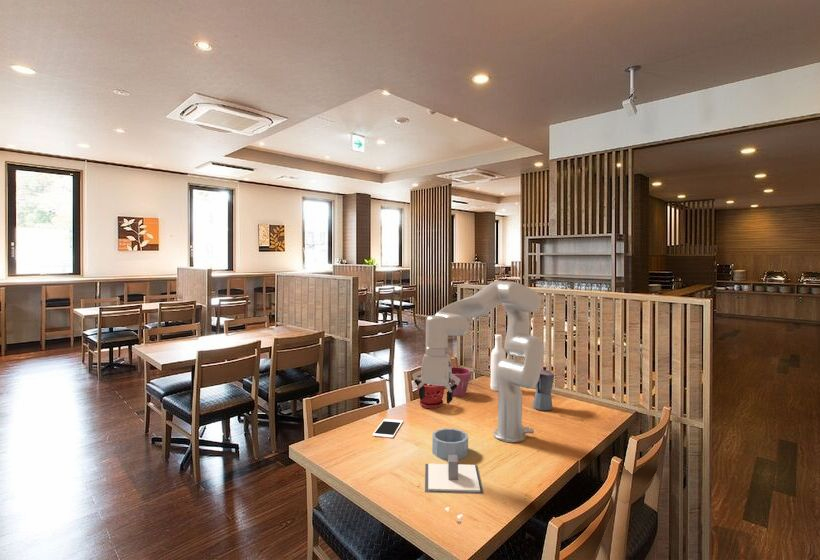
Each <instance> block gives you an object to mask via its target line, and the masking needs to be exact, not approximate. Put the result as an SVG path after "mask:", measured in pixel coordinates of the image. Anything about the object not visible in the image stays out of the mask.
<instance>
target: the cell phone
mask: <svg viewBox="0 0 820 560" xmlns="http://www.w3.org/2000/svg"><path fill="white" fill-rule="evenodd" d="M403 423H404V420H403V419H402V420H401V419H393V418H384V419H383V420H382V422H381V423H380V424H378V426H377V428H376V429H375V430H374V432H373V433H372V435H371V437H373V436H376V438H383V437H386V438H385V439H394V438H393V437H395V436H396V434H397V433H398V431H399V430H400V428H401V426H402V425H403ZM398 429H399V430H398Z"/></svg>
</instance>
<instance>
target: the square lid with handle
mask: <svg viewBox="0 0 820 560" xmlns="http://www.w3.org/2000/svg"><path fill="white" fill-rule="evenodd" d="M427 464H428V491H462V492H480V486H479V482H478V477H477V473H476V468H475V465H476V464H460V463H459V459H458V458H457V455H448V460H447V463H427Z"/></svg>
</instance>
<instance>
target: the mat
mask: <svg viewBox="0 0 820 560" xmlns="http://www.w3.org/2000/svg"><path fill="white" fill-rule="evenodd" d="M428 464H429V463H425V464H424V466H425V468H424V469H425V471H424V472H425V473H424V481H425V482H424V493H428V494H429V493H431V494H433V493H434V494H436V493H437V494H440V493H441V494H464V495H465V494H468V495H469V494H470V495H473V494H474V495H484V488H483V484H482V479H481V476H480V470H479V466H478V464H474V465H475V468H476V473H477V477H478V482H479V486H480V492H462V491H428Z"/></svg>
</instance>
